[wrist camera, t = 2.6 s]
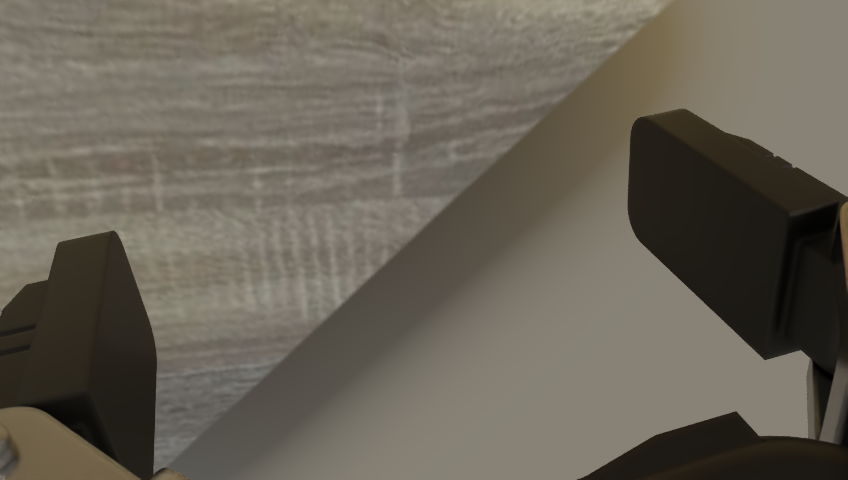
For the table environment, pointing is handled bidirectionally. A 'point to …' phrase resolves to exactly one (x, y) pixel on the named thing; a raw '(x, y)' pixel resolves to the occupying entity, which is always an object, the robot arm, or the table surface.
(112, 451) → the robot arm
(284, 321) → the table surface
